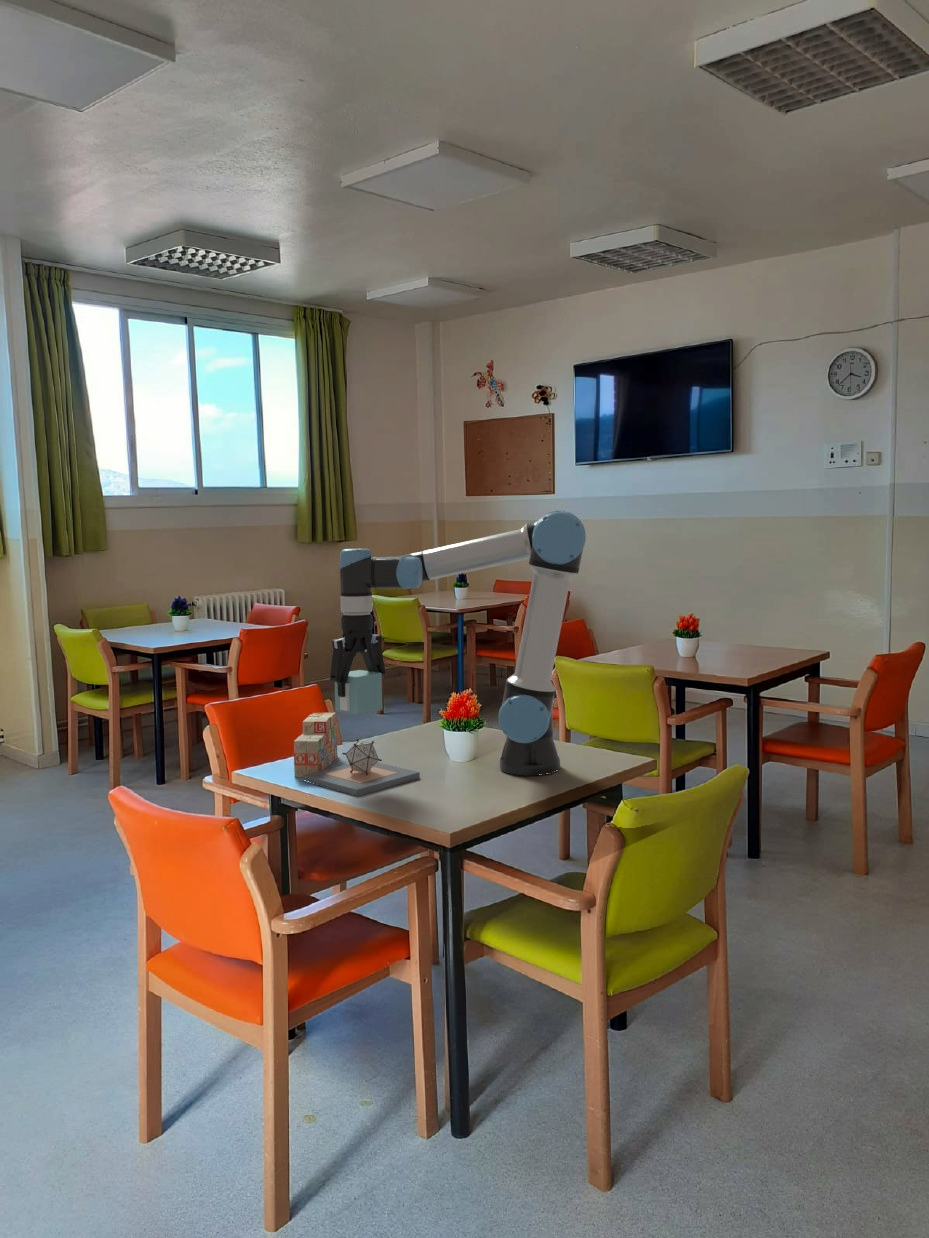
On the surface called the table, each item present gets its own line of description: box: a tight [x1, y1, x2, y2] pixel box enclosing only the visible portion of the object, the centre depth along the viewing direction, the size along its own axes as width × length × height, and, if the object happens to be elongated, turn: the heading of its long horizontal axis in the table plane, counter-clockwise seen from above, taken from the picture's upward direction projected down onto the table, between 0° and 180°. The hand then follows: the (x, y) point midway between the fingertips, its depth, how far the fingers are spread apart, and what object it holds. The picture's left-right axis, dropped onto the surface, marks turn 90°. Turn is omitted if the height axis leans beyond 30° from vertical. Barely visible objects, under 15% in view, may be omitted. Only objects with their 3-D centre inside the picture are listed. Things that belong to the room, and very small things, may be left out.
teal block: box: [334, 669, 383, 716], centre depth 231 cm, size 8×8×9 cm
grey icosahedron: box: [341, 738, 383, 775], centre depth 233 cm, size 9×8×10 cm
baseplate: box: [302, 761, 421, 797], centre depth 233 cm, size 20×20×2 cm
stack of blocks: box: [293, 712, 338, 778], centre depth 246 cm, size 21×6×12 cm, turn 175°
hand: (359, 707), depth 232 cm, fingers closed on teal block, 8 cm apart
